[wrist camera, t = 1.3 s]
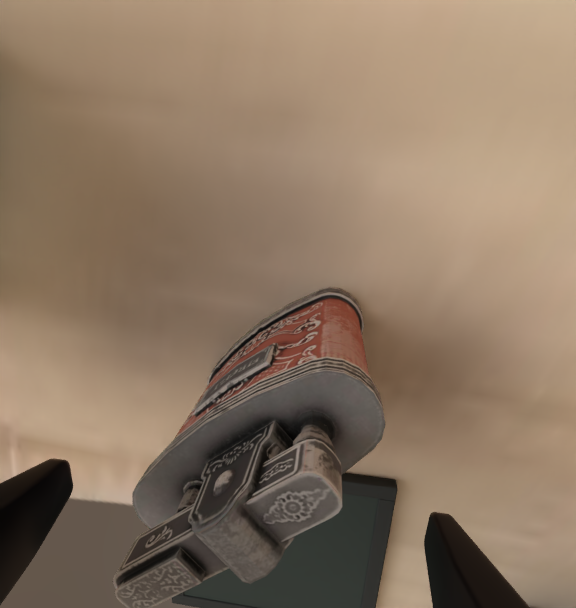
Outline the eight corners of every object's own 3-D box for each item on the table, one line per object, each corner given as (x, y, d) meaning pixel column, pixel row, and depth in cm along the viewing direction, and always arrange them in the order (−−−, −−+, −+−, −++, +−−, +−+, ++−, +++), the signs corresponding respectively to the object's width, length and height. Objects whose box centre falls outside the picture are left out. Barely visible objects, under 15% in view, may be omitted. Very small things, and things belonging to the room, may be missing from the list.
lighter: (332, 269, 15) (330, 402, 6) (378, 329, 16) (444, 540, 6) (197, 367, 18) (38, 577, 8) (242, 417, 18) (143, 667, 9)
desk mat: (396, 479, 18) (397, 488, 18) (369, 626, 22) (369, 638, 21) (166, 449, 19) (161, 456, 19) (175, 592, 23) (171, 603, 22)
